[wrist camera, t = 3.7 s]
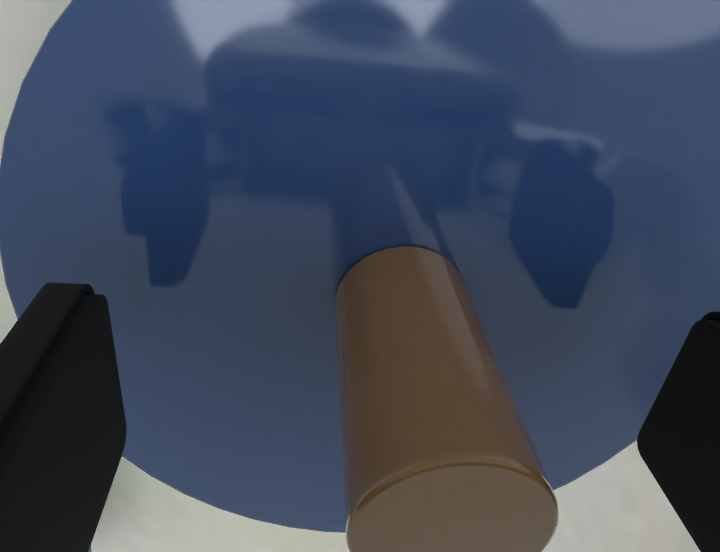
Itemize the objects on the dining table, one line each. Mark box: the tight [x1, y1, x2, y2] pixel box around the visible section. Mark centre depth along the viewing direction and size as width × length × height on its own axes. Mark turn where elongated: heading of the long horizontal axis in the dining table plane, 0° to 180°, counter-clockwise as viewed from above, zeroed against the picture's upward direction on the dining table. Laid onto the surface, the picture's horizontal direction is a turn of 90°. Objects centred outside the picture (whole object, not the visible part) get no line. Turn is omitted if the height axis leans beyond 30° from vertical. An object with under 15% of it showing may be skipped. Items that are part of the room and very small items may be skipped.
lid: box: [0, 0, 720, 552], centre depth 10 cm, size 15×15×6 cm
